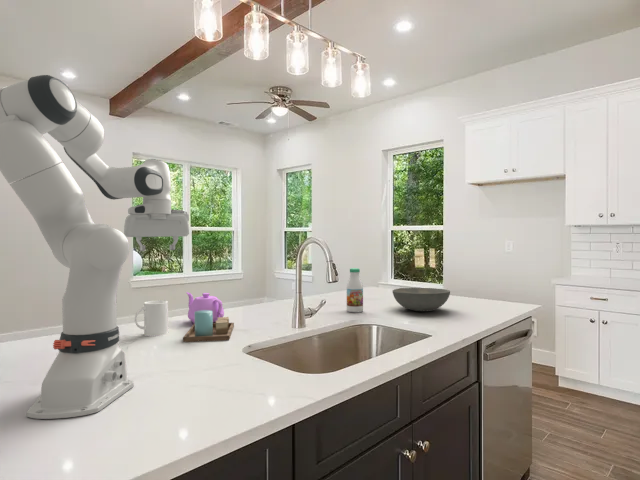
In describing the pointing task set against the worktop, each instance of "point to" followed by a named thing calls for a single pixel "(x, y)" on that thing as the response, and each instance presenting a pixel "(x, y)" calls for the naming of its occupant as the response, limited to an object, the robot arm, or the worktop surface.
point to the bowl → (421, 298)
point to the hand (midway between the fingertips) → (157, 250)
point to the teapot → (205, 306)
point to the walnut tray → (216, 337)
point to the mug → (154, 318)
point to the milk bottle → (354, 292)
